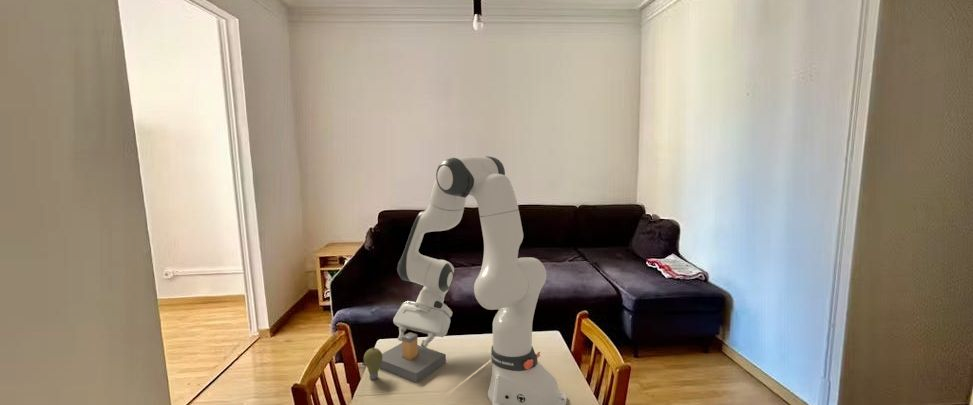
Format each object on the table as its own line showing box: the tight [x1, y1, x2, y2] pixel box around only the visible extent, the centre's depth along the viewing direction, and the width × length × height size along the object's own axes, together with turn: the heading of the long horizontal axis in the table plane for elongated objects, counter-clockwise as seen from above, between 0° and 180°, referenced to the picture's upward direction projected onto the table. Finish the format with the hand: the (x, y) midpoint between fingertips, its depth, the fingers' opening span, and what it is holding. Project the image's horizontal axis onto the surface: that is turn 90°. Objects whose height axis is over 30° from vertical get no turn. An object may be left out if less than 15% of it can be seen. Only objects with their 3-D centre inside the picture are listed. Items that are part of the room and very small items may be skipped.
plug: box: [401, 331, 418, 360], centre depth 138 cm, size 3×4×10 cm
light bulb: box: [363, 347, 383, 381], centre depth 130 cm, size 6×6×10 cm
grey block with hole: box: [379, 342, 447, 384], centre depth 138 cm, size 18×14×4 cm
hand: (411, 343), depth 138 cm, fingers open, 8 cm apart
